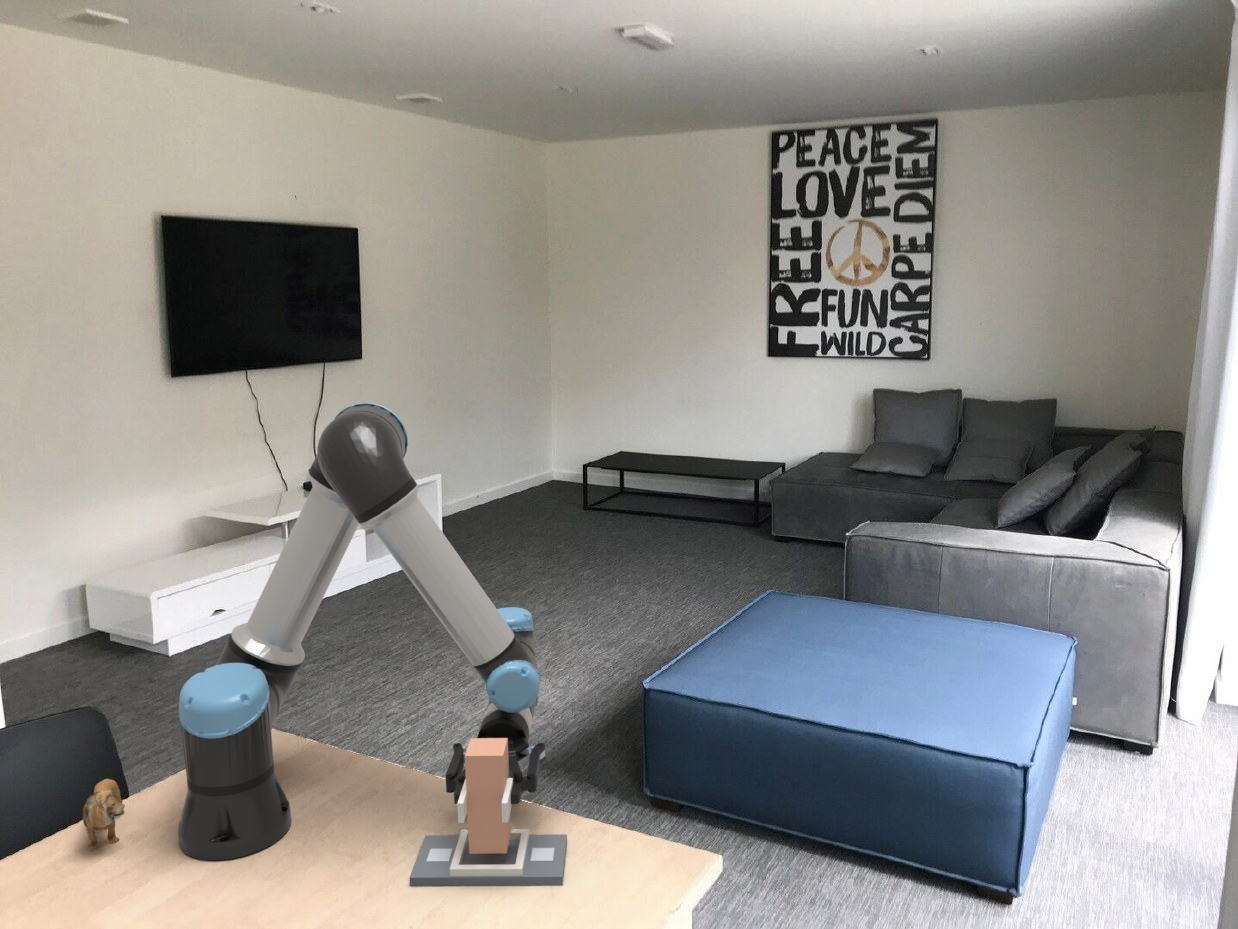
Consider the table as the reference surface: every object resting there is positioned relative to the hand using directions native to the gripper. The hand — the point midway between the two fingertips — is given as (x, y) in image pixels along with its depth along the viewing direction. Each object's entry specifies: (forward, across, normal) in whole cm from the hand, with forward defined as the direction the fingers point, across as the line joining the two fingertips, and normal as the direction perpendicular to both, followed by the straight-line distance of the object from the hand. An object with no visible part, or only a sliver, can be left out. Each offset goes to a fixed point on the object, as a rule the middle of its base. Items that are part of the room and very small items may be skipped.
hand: (482, 812), depth 127 cm
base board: (-5, 0, -10) cm, 12 cm away
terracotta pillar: (-5, 0, -8) cm, 9 cm away
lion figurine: (-13, +56, -11) cm, 59 cm away
